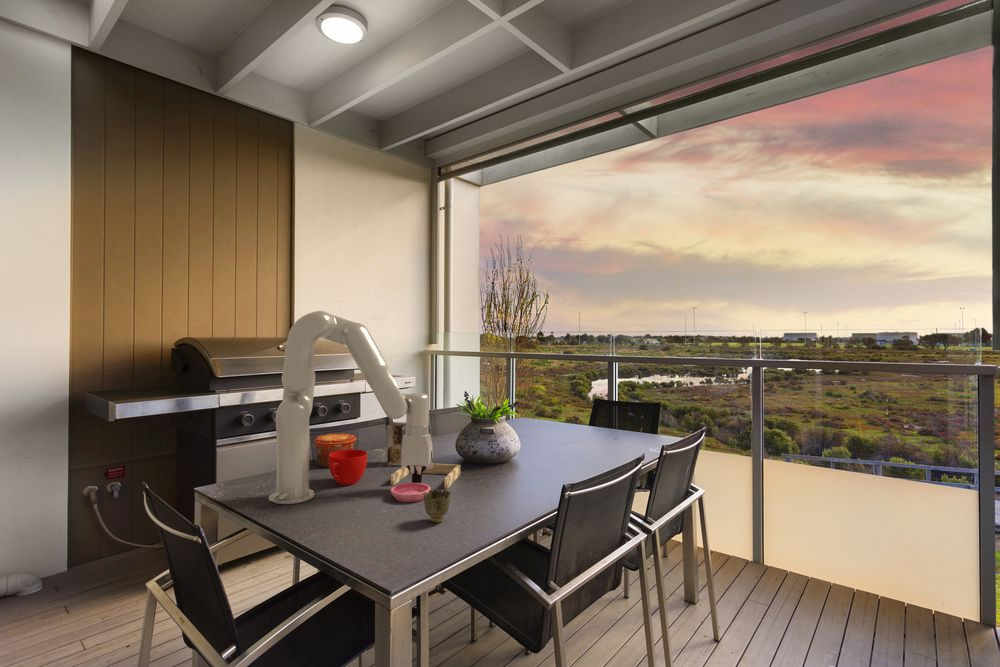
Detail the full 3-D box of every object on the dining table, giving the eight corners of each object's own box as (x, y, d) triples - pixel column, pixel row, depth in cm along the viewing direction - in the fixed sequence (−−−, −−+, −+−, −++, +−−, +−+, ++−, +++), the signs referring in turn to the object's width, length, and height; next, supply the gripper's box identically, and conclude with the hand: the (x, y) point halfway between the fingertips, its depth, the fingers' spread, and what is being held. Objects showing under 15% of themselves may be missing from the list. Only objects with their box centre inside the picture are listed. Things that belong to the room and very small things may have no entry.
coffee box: (413, 462, 205) (414, 422, 205) (409, 466, 199) (409, 425, 199) (391, 461, 206) (392, 421, 206) (386, 465, 200) (386, 424, 200)
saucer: (383, 497, 163) (383, 487, 163) (416, 489, 171) (416, 479, 171) (403, 507, 154) (404, 496, 154) (437, 498, 162) (438, 488, 162)
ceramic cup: (313, 489, 169) (314, 459, 169) (341, 475, 185) (341, 448, 185) (349, 493, 166) (349, 462, 166) (373, 478, 182) (374, 450, 182)
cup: (437, 514, 147) (437, 486, 147) (455, 520, 143) (455, 492, 142) (417, 521, 141) (418, 493, 141) (436, 528, 137) (436, 498, 137)
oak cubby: (447, 489, 171) (447, 478, 171) (390, 485, 174) (390, 475, 174) (460, 474, 189) (460, 464, 189) (408, 471, 192) (408, 461, 192)
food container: (346, 457, 213) (346, 431, 213) (362, 465, 200) (363, 437, 200) (307, 463, 203) (308, 436, 203) (322, 471, 190) (322, 443, 190)
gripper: (391, 431, 168) (391, 487, 168) (435, 433, 166) (434, 489, 166) (400, 427, 176) (399, 480, 176) (442, 429, 173) (441, 483, 173)
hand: (416, 484), depth 171 cm, fingers closed
